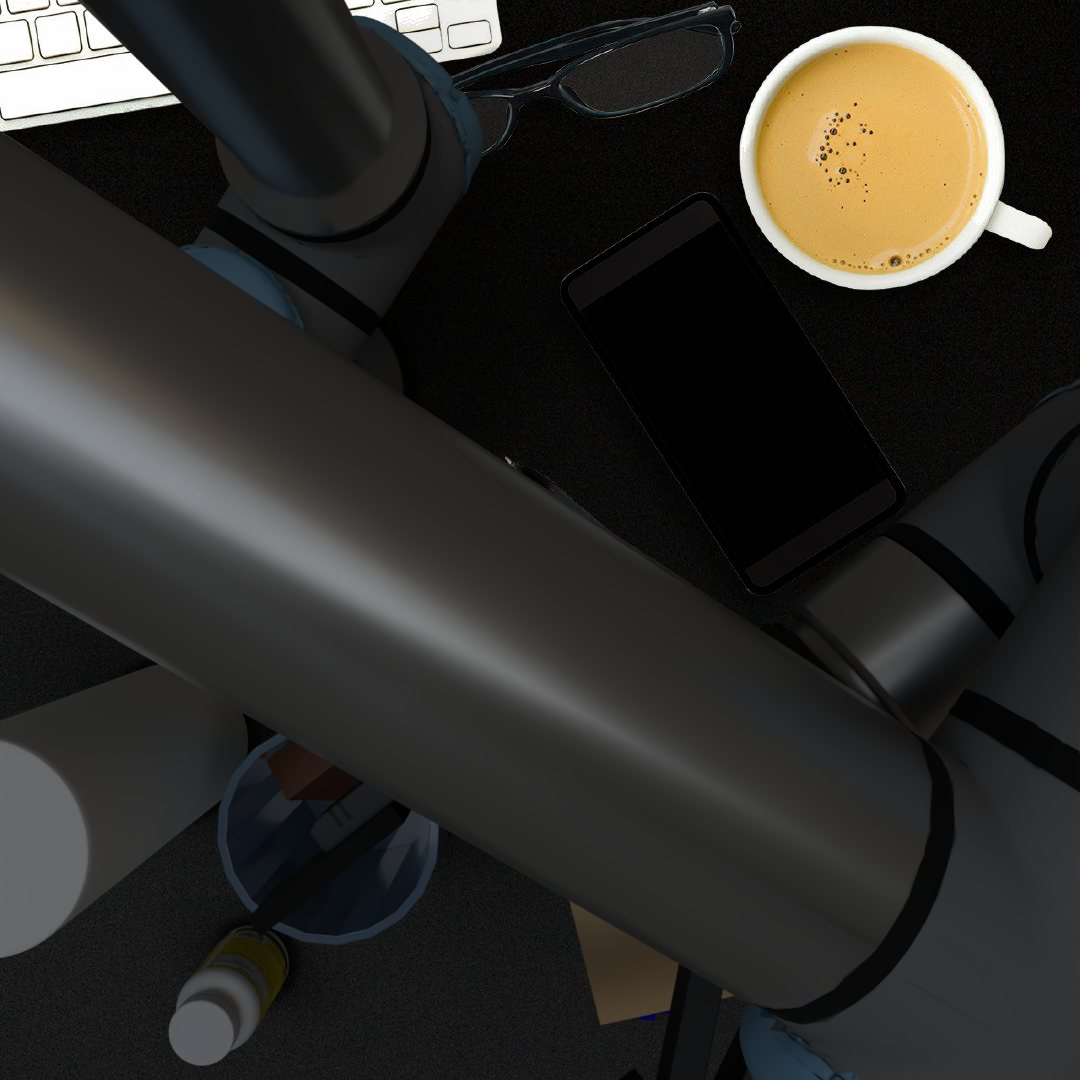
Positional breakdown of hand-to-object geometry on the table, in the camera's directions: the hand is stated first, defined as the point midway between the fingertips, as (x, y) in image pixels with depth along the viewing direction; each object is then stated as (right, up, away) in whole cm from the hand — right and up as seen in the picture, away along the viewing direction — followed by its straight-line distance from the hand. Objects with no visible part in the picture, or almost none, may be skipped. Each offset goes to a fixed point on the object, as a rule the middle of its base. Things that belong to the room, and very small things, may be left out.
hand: (383, 1059), depth 35 cm
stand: (+13, -2, +42) cm, 44 cm away
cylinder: (-24, +3, +43) cm, 50 cm away
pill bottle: (-18, -15, +44) cm, 49 cm away
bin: (-7, +1, +42) cm, 43 cm away
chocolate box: (-8, +1, +41) cm, 42 cm away
